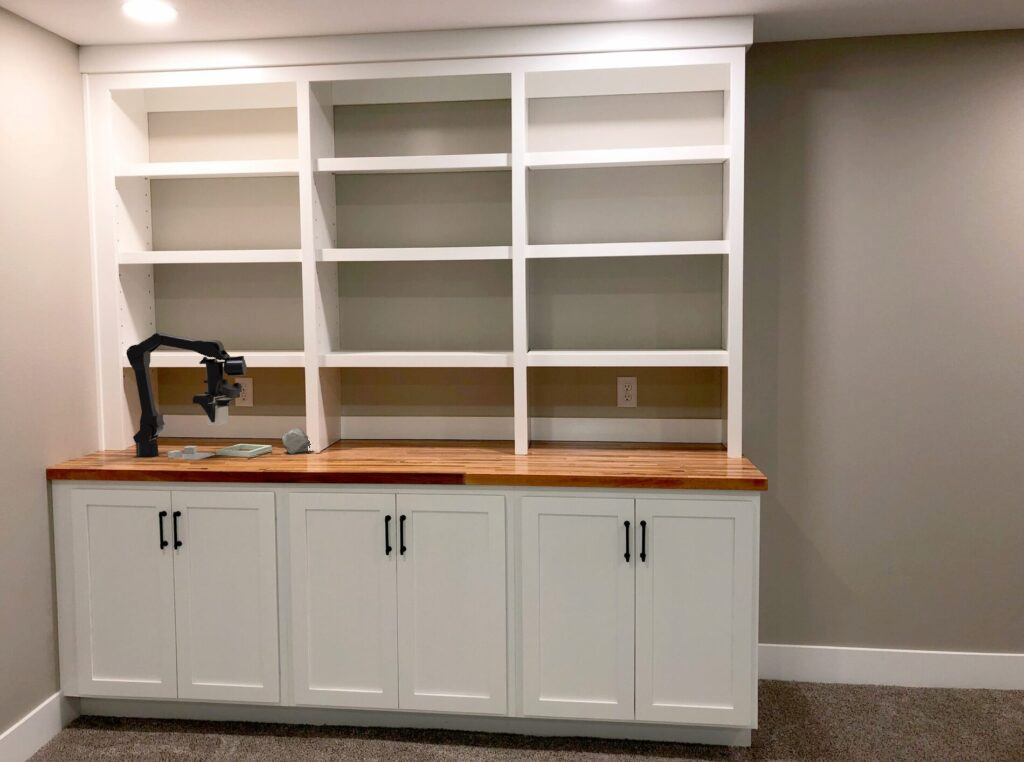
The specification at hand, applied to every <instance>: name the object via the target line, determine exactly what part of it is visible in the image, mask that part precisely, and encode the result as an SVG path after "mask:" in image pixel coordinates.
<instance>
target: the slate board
mask: <svg viewBox="0 0 1024 762" xmlns="http://www.w3.org/2000/svg"><path fill="white" fill-rule="evenodd" d="M215 455H216V453H210V452H208V453H207V452H198V446H197V445H186V446H184V447H183V451H182V450H179V449H176V450H169V451H167V458H168V459H178V460H179V459H182V460H196V461H198V460H202V459H205V458H208V457H212V456H215Z"/></svg>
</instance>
